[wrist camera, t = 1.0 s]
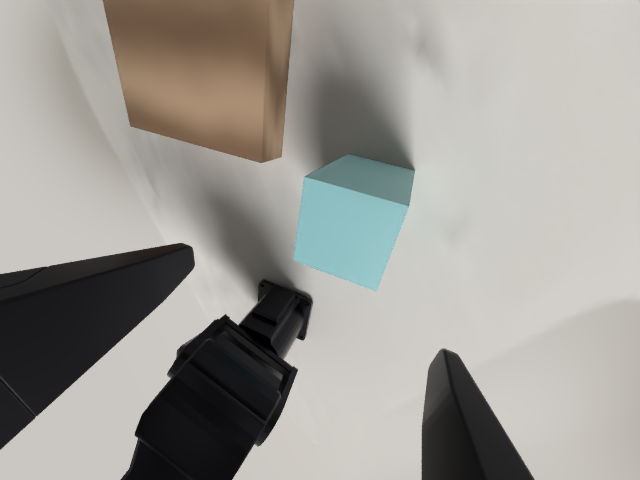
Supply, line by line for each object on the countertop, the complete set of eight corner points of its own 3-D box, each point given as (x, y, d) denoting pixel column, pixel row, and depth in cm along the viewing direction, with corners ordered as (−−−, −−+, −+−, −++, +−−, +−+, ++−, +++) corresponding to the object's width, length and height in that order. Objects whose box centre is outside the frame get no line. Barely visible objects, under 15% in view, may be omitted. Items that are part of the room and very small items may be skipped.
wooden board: (281, 157, 20) (261, 163, 18) (161, 124, 23) (130, 126, 21) (300, -80, 14) (272, -123, 11) (129, -81, 17) (77, -116, 14)
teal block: (392, 231, 20) (376, 291, 13) (335, 213, 21) (293, 260, 14) (414, 170, 17) (408, 206, 10) (347, 153, 18) (304, 176, 12)
